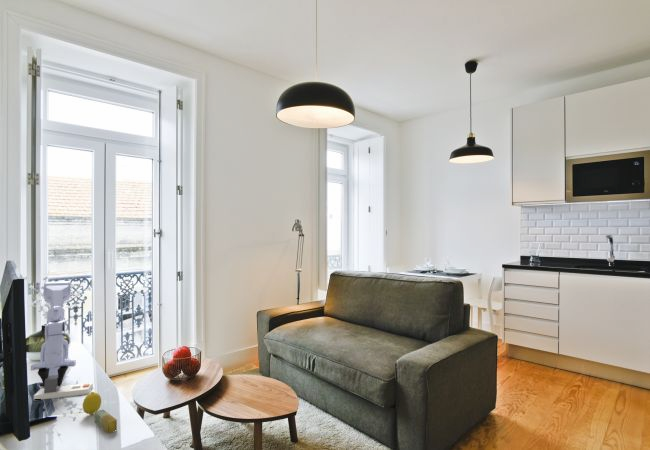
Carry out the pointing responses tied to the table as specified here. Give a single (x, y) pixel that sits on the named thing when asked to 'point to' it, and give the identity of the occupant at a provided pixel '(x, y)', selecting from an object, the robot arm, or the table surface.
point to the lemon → (91, 403)
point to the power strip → (65, 391)
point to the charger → (51, 384)
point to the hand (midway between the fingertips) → (52, 386)
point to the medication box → (105, 421)
